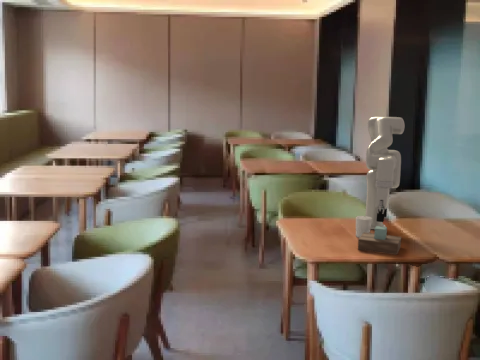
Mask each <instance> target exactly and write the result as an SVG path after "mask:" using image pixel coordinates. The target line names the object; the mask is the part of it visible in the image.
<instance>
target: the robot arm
mask: <svg viewBox="0 0 480 360" xmlns="http://www.w3.org/2000/svg"><path fill="white" fill-rule="evenodd" d="M367 130H368V133H369V136H370V144H369V145H368V146H367V148H366V151H365V165H366V168H367V169H368V172H367V173H366V177H365V178H366V201H365V202H366V203H365V215H364V216H368V217H371V218H372V221H371V229H370V230H374V231H375V227H376V226H381V227H387V226H386V225H385V224H384V223H383V222H384V220H385V218H387V215H388V206H389V203H390V202H389V199H390V189H397V188H398V187H399V186H400V183H401V167H402V155H401V152H400V151H398V150H395V149H388V148H389V147H391V145H392V144H393V135H402V134H403V133H404V131H405V121H404V119H403V117H399V116H398V117H397V116H373V117H370V118H369V119H368V120H367Z"/></svg>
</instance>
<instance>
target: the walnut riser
mask: <svg viewBox="0 0 480 360" xmlns="http://www.w3.org/2000/svg"><path fill="white" fill-rule="evenodd" d="M374 233H375V232H374ZM374 233H373V232H370V233H366V232H364V233H363V234H362V235H361V237H360V238H358V243H357V250H360V251H365V252H366V251H368V252H372V253H373V252H374V253H380V254H381V253H383V254H390V255H395V256H396V255H399V252H400V249H401V245H402V236H398V235H397V236H396V235H390V234H387V235H386V239H385V240H381V239H374Z"/></svg>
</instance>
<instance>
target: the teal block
mask: <svg viewBox="0 0 480 360" xmlns="http://www.w3.org/2000/svg"><path fill="white" fill-rule="evenodd" d="M387 232H388V227H387V226H386V227H381V226H376V227H375V230H374V239H381V240H385V239H386V235H388V234H387Z"/></svg>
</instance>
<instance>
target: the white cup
mask: <svg viewBox="0 0 480 360" xmlns="http://www.w3.org/2000/svg"><path fill="white" fill-rule="evenodd" d="M371 221H372V218H371V217H368V216H365V215H358V216H355V237H356V238H358V239H359V238H360V237H361V235H362V234H363V233H364V232H366V233H371V230H372V229H371Z"/></svg>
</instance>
